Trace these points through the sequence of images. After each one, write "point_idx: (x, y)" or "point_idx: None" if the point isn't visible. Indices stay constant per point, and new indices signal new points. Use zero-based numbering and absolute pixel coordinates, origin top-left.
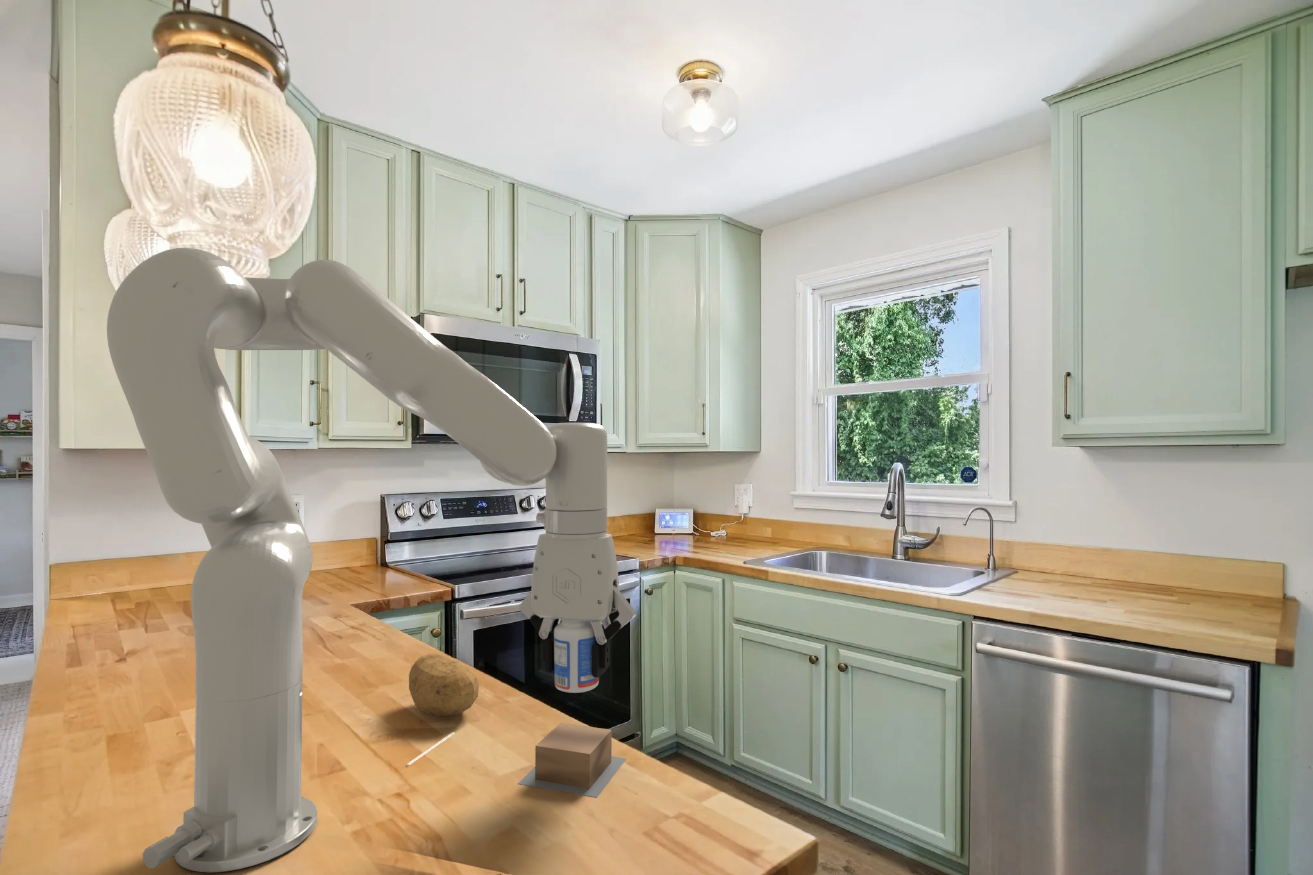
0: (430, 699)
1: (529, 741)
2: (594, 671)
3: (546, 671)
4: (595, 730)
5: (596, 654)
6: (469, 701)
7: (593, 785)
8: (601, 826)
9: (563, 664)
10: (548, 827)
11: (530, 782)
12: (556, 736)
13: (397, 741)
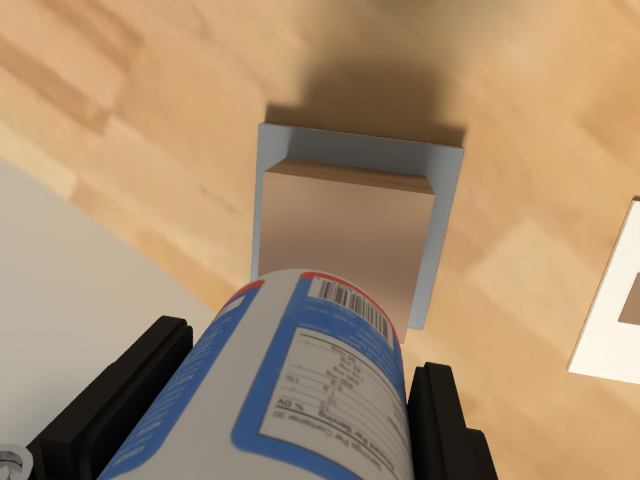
0: None
1: (499, 374)
2: (165, 330)
3: (443, 365)
4: None
5: (94, 388)
6: None
7: None
8: (229, 43)
9: (320, 340)
10: (340, 9)
11: (433, 161)
12: (390, 261)
13: None
